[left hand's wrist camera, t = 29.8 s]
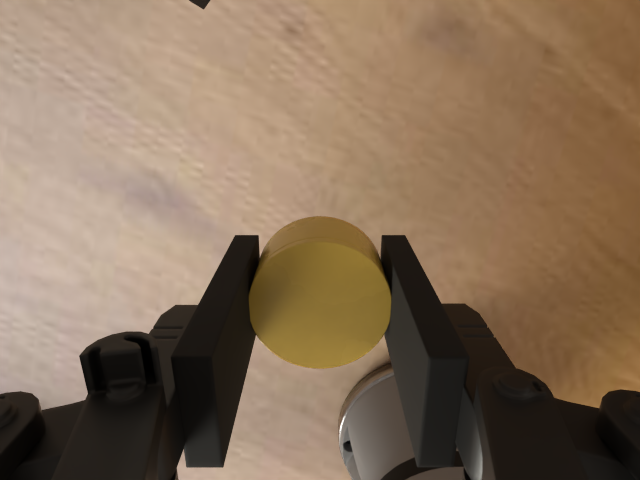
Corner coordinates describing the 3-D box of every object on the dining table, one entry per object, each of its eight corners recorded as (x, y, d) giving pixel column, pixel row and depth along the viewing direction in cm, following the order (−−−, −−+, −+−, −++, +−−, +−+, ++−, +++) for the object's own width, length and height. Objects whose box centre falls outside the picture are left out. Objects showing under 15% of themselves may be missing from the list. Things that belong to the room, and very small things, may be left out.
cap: (405, 250, 14) (420, 281, 12) (344, 345, 15) (348, 388, 13) (291, 193, 13) (286, 215, 11) (238, 297, 15) (224, 335, 13)
